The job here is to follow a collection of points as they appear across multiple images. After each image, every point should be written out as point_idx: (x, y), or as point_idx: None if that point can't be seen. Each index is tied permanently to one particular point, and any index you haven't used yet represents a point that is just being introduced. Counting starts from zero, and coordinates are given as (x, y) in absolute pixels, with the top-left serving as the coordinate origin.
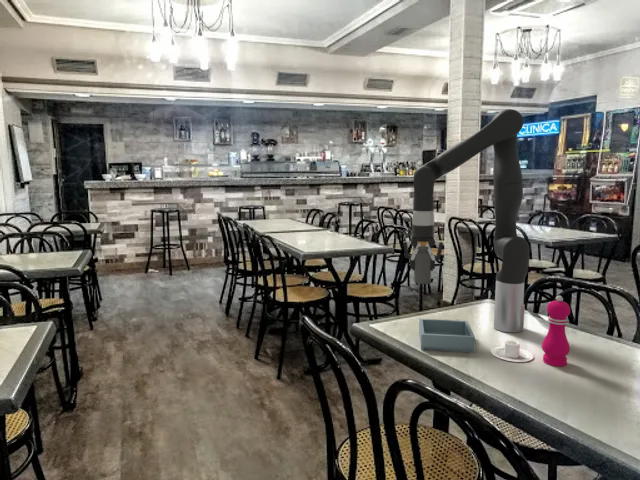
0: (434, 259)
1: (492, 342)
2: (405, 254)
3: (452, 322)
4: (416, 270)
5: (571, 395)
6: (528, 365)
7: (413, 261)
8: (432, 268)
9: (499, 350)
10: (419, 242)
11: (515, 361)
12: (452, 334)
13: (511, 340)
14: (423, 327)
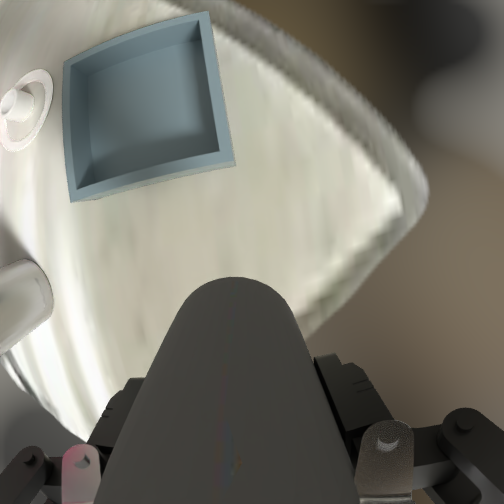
0: (73, 451)
1: (44, 169)
2: (499, 432)
3: (113, 178)
4: (290, 336)
5: (10, 19)
6: (15, 76)
7: (355, 416)
8: (127, 388)
9: (38, 121)
10: None
11: (27, 73)
12: (126, 160)
13: (5, 116)
14: (206, 66)
